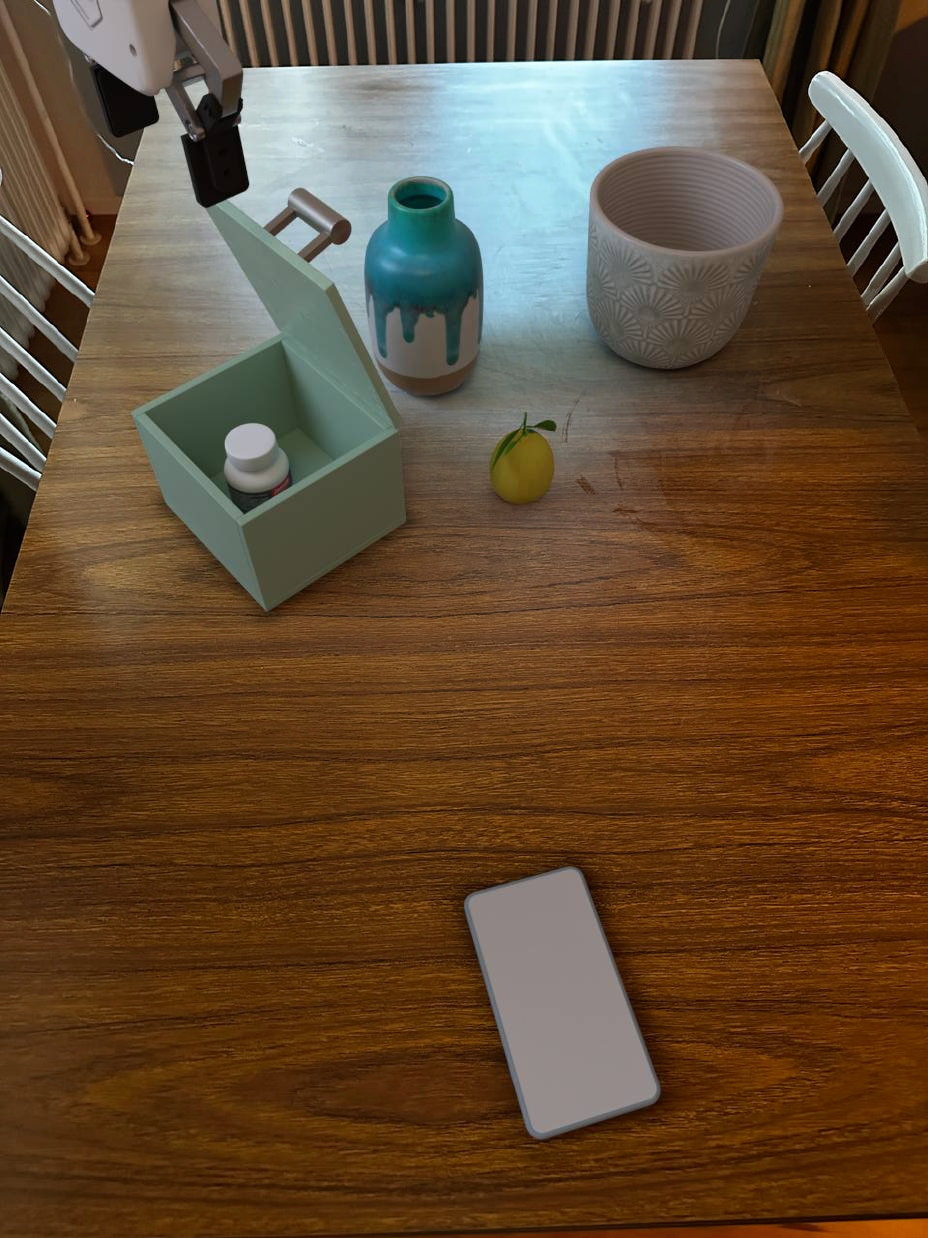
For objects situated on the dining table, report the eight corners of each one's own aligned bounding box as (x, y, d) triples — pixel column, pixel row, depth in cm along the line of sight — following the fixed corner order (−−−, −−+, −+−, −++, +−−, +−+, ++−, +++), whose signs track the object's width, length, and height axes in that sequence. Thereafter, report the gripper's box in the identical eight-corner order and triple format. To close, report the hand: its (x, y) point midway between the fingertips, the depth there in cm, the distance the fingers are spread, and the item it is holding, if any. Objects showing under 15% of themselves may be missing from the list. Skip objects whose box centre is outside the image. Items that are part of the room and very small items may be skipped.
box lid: (324, 290, 59) (390, 232, 60) (190, 184, 66) (250, 133, 67) (395, 429, 73) (448, 381, 74) (278, 330, 80) (327, 287, 80)
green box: (266, 612, 77) (241, 525, 68) (165, 503, 84) (130, 411, 75) (406, 521, 82) (399, 430, 74) (301, 425, 89) (283, 331, 80)
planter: (549, 303, 99) (561, 162, 87) (696, 272, 102) (729, 131, 90) (613, 410, 90) (637, 271, 78) (773, 373, 93) (821, 233, 81)
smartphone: (579, 862, 64) (666, 1099, 56) (578, 867, 65) (663, 1102, 56) (460, 895, 63) (530, 1143, 54) (460, 900, 64) (529, 1145, 55)
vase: (382, 421, 89) (365, 238, 74) (366, 348, 95) (346, 164, 79) (492, 405, 91) (498, 222, 75) (469, 334, 96) (470, 150, 81)
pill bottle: (289, 543, 80) (272, 469, 73) (230, 535, 81) (206, 461, 73) (306, 496, 83) (291, 421, 76) (248, 489, 83) (228, 413, 76)
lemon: (487, 529, 82) (490, 445, 74) (476, 479, 85) (477, 394, 77) (563, 519, 83) (574, 435, 74) (549, 470, 86) (558, 385, 78)
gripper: (-82, -242, 44) (50, 125, 58) (103, -139, 37) (203, 254, 51) (65, -273, 47) (157, 84, 61) (264, -183, 40) (317, 200, 54)
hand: (178, 161), depth 56 cm, fingers open, 9 cm apart
